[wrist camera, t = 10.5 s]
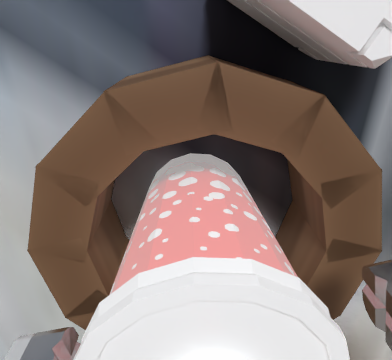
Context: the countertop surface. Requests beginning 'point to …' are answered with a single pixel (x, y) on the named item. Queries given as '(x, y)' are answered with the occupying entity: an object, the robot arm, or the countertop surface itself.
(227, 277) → the beverage cup
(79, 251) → the walnut ring
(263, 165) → the countertop surface
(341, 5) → the container set
